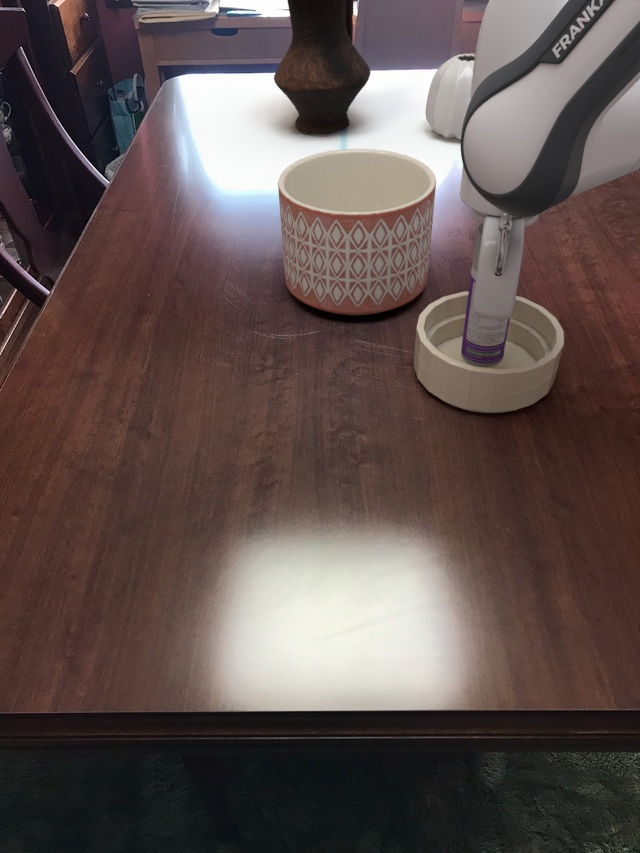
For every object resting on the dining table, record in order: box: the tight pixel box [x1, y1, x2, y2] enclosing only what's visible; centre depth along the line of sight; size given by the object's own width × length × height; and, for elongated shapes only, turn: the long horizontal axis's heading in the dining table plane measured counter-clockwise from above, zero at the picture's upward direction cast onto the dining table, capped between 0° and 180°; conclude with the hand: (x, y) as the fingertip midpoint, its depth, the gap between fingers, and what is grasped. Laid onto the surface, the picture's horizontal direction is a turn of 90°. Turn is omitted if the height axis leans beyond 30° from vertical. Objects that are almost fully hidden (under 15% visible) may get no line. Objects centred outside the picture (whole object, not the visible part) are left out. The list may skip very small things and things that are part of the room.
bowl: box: [413, 290, 565, 414], centre depth 77 cm, size 16×16×6 cm
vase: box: [425, 53, 475, 141], centre depth 129 cm, size 14×14×13 cm
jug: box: [273, 0, 371, 135], centre depth 129 cm, size 21×18×30 cm
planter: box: [277, 148, 437, 317], centre depth 89 cm, size 19×19×15 cm
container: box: [461, 223, 510, 367], centre depth 72 cm, size 5×5×15 cm
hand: (490, 307), depth 73 cm, fingers closed on container, 4 cm apart
